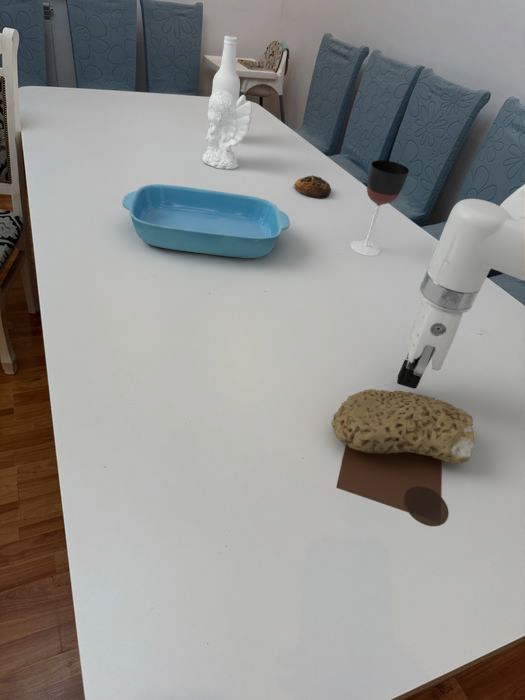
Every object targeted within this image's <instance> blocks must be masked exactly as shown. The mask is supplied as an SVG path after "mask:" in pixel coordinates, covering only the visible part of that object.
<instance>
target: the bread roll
mask: <svg viewBox="0 0 525 700" xmlns="http://www.w3.org/2000/svg"><path fill="white" fill-rule="evenodd" d="M293 186H294V187H295V190H297V192H299V193H300V194H303V195H305V196H308V197H312V198H317V199H326V198H327V197H329V196H330V194H331V193H332V187H331V184H330V183H329V182H328V181H327V180H326V179H323V178H322V176H317V175H313V174H312V175H307V176H304V177H303V176H302V177H300V178H299V179H297V180H296V181H295V182H294V184H293Z"/></svg>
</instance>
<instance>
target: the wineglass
mask: <svg viewBox="0 0 525 700" xmlns="http://www.w3.org/2000/svg"><path fill="white" fill-rule="evenodd" d="M409 172H410V169H409V168H408V167H406V166H405V165H403V164H401V163H398V162H395V161H391V160H384V159H383V160H374V161H372V162H371V164H370V167H369V172H368V176H367V185H366V193H367V196H368V197H369V199H370V200H371V201H372V202H373V203H374V204H376V205H375V210H374V213H373V216H372V219H371V222H370V227H369V229H368V232H367V235H366V238H365V240H353V241H352V242H350V244H349V246H350V248H351V250H353V251H354V252H356V253H358V254H360V255H364V256H367V257H374V256H375V257H376V256H378V255H380V253H381V249H380V248H379V247H378V246H377V245H375V244H374V243H372V242H370V240H371V237H372V236H371V235H372V232H373V230H374V227H375V223H376V220H377V216H378V214H379V210H380V208H381V206H383V205H386V204H390V203H392V202H394V201H395V200H396V199H397V198H398V196H399V195H400V193H401V191H402V189H403V187H404V185H405V182H406V180H407V178H408V176H409Z"/></svg>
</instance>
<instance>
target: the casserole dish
mask: <svg viewBox="0 0 525 700" xmlns="http://www.w3.org/2000/svg"><path fill="white" fill-rule="evenodd" d="M122 207H123V208H125V209H126V210H127V211H129V215H130V218H131V221H132V224H133V227H134V230H135V232H136V234H137V236H138V237H139V238H140V239H141V240H142V241H143V242H144V243H146V244H147V245H149V246H152V247H156V248H161V249H166V250H167V249H168V250H174V251H181V252H189V253H198V254H206V255H213V256H220V257H221V256H222V257H227V258H228V257H229V258H238V259H259V258H262V257H265V256H266V255H268V254H269V253H270V252H271V251H272V250H273V249H274V247H275V245H276V244H277V241H278V239H279V238H280V235H281V233H282V231H285V230H287V229H289V228H290V226H291V221H290V218H289V216H288V215H287V214H286V213H285V212H284V211H282V210H280V209H279V207H278V206H277V205H276V204H275V203H273V202H272V201H269V200H267V199H264V198H261V197H257V196H256V197H255V196H251V195H246V194H245V195H244V194H240V193H239V194H238V193H231V192H225V191H217V190H211V189H210V190H209V189H204V188H203V189H202V188H195V187H190V186H189V187H188V186H183V185H182V186H181V185H172V184H163V183H160V184H159V183H158V184H157V183H156V184H147V185H143V186H141V187H140V188H138V189H137V190H134V191H131V192H128V193H127V194H126V195H125V196H123V199H122Z"/></svg>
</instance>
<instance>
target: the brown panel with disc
mask: <svg viewBox="0 0 525 700" xmlns="http://www.w3.org/2000/svg"><path fill="white" fill-rule="evenodd" d="M442 464H443V460H440V459H436V458H434V457H432V456H428V455H423V454H417V453H414V452H399V453H392V452H391V453H377V452H376V453H367V452H363V451H360V450H355V449H352V448H350V447H349V446H348V445H346V444H345V446H344V451H343V455H342V460H341V464H340V469H339V472H338V473H339V474H338V478H337V483H336V486H335V487H336V489H339V490H342V491H344V492H347V493H350V494H353V495H356V496H360V497H361V498H365V499H368V500H370V501H373V502H377V503H379V504H383V505H385V506H389V507H391V508H394V509H397V510H400V511H402V512H406V513H408V514H409V515H410V516H411V518H413V520H415V521H417V522H418V523H420V524H422V525H425V526H428V527H438V526H442V525H443V524H445V523H446V522H447V520H448V519H449V507H448V505H447V503H446V501H445V499H444V498H443V497H442V476H443V474H442V473H443V472H442V468H443V467H442V466H443V465H442Z"/></svg>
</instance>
